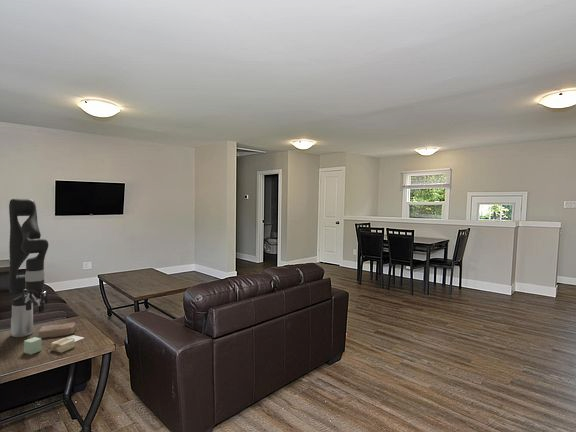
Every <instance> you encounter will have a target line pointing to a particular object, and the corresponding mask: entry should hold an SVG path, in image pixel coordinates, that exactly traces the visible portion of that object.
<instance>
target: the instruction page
mask: <svg viewBox="0 0 576 432" xmlns="http://www.w3.org/2000/svg"><path fill="white" fill-rule="evenodd" d="M65 338H69V339H74V340H75V342H74V343H76V342H78V341H82V340H84V339H85V337H83V336H78V335H74V334H70V335H68V336H66V337H65Z"/></svg>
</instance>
